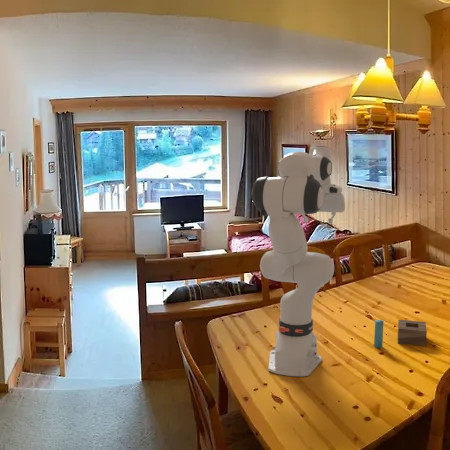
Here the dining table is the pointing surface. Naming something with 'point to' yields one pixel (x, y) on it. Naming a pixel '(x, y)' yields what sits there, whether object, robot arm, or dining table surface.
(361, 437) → the dining table surface
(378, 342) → the teal peg
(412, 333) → the walnut hole block
